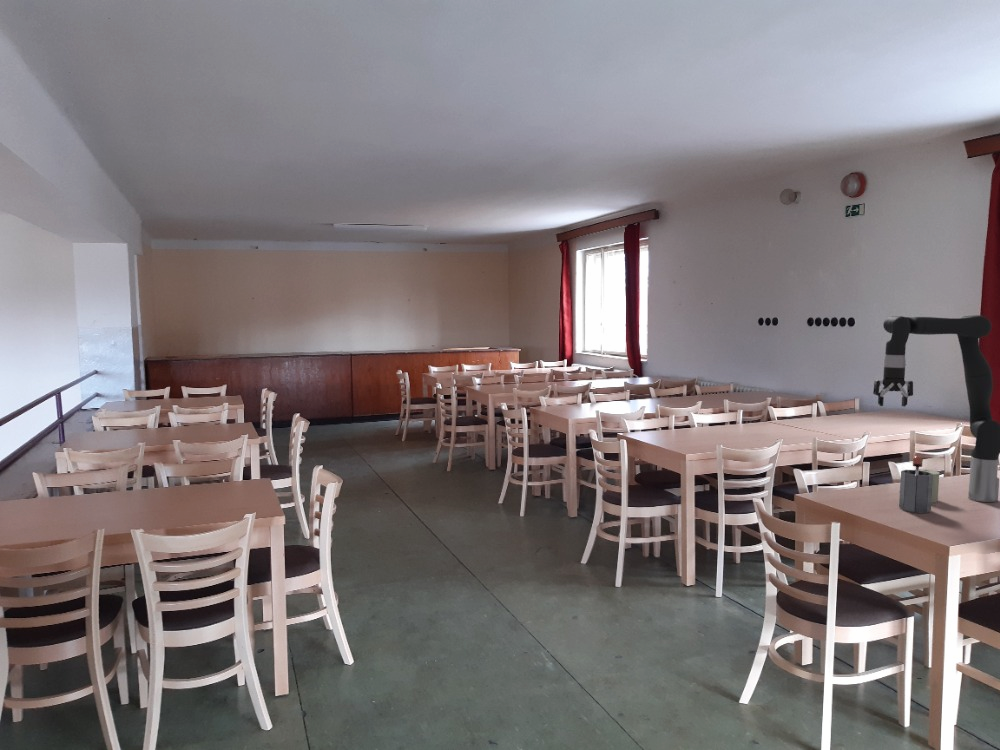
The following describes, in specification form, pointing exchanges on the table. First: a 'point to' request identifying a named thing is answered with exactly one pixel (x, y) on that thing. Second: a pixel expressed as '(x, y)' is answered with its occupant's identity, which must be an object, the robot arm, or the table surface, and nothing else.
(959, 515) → the table surface
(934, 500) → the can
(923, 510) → the grey faceted pot
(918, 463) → the plunger
